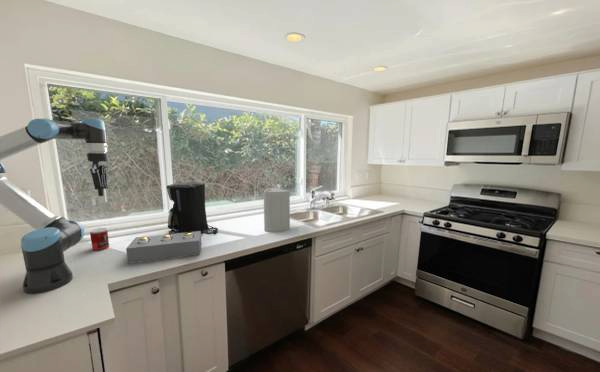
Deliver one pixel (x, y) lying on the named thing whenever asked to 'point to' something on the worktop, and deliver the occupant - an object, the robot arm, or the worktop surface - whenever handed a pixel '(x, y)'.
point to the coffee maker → (188, 208)
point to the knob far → (188, 235)
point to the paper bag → (276, 210)
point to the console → (164, 247)
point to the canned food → (99, 239)
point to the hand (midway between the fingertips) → (102, 202)
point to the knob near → (144, 239)
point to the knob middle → (166, 237)
